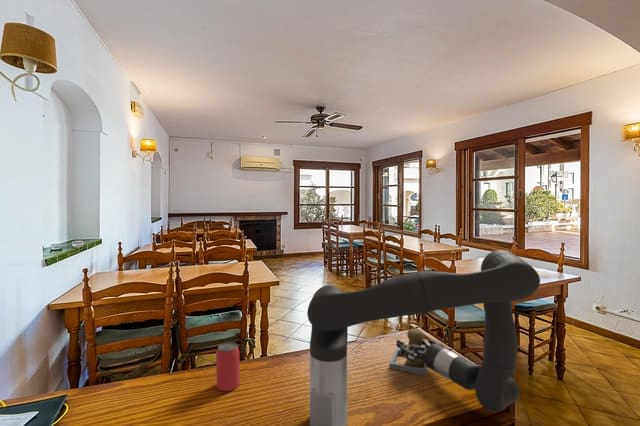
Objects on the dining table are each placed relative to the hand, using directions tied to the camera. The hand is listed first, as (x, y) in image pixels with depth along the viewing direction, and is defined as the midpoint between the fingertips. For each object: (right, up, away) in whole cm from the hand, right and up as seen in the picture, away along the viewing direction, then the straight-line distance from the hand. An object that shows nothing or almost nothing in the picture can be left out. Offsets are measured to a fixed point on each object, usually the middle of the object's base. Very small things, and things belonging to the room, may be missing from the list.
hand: (406, 340), depth 108 cm
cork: (+3, -7, -2) cm, 8 cm away
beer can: (-57, -8, -15) cm, 59 cm away
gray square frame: (+1, -7, -2) cm, 7 cm away
